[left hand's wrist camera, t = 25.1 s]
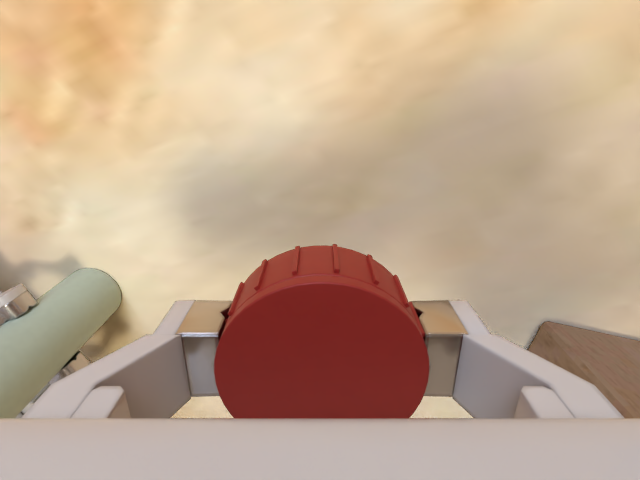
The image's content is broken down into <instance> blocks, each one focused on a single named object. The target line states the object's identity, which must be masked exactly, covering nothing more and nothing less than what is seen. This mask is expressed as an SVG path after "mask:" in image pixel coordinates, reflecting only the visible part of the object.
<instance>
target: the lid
mask: <svg viewBox="0 0 640 480" xmlns="http://www.w3.org/2000/svg"><path fill="white" fill-rule="evenodd" d="M228 315H229V317H228V319H226V320H225V323H226V325H225V328H224V330H223V333H222V335H221V338H220V341H219V343H218V346H217V349H216V354H215V359H214V375H215V382H216V386H217V389H218V392H219V395H220V397H221V399H222V401H223V403H224V405H225V407H226V408H227V410H228V411H229V412H230V414H231V415H232V416H233V417H234V418H409V417H410V416H411V415H412V414H413V413H414V411H415V410H416V408H417V407H418V405H419V404H420V402H421V400H422V398H423V396H424V393H425V390H426V387H427V384H428V378H429V370H430V369H429V356H428V351H427V347H426V344H425V342H424V339H423V337H424V335H425V332H424V330H423V328H422V325H421V323H420V321H419V318H418V316H417V313H416V311H415V309H414V306H413V304H412V302H408V300H407V297H406V295H405V293H404V290H403V288H402V286H401V283H400V281H399V278H398V277H397V275H394V276H393V275H392V274H391V273H390V272H389V271H388V270H387V269H386V268H385V267H384V266H382V265H381V264H379V263H378V262H376V261H375V260H373V258H372V256H371V255H369V254H368V255H367V256H366V255H364V254H361V253H359V252H356V251H353V250H350V249H346V248H342V247H337V245H336V244H333V246H308V247H301V248H300V246H296V247H295V249H293V250H290V251H287V252H284V253H282V254H279V255H277V256H275V257H273V258H272V259H270V260H268V261H267V260H266V259H265V260H264V261H262V264H261V266H260V267H258V268H257V269H256V270H255V271H254V272H253V273H252V274H251V275H250V276H249V277H248V279H247V280H246V281H245V283H242V282H241V283H240V285H239V287H238V289H237V292H236V294H235V297H234V299H233V302H232V304H231V307H230V309H229V312H228Z"/></svg>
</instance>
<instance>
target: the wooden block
mask: <svg viewBox="0 0 640 480" xmlns="http://www.w3.org/2000/svg"><path fill="white" fill-rule="evenodd" d="M528 351H530V352H532V353H534V354H536V355H538V356H539V357H541V358H543V359H545V360H547V361H549V362H551V363H553V364H555V365H557V366H559V367H561V368H563V369H564V370H566V371H568V372H570V373H572V374H574V375H576V376H578V377H580V378H582V379H584V380H586V381H588V382H589V383H591V384H593V385H595V386H596V387H597V388H598V390H599V391H600V392H601V393H602V394H603V395H604V396H605V397H606V398H607V399H608V400H609V402H610V403H611V404H612V405H613V406H614V407H615V408H616V409H617V410H618V411H619V412H620V414H621V415H622V416H623V417H624V418H640V341H636V340H632V339H627V338H622V337H618V336H613V335H609V334H604V333H599V332H595V331H590V330H586V329H581V328H576V327H572V326H567V325H563V324H558V323H553V322H549V321H548V322H544V323H543V324H542V325H541V327H540V329H539V331H538V333H537V335H536V336H535V338H534V340H533V342H532V344H531V346H530V347H529V349H528Z"/></svg>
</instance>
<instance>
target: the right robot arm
mask: <svg viewBox="0 0 640 480" xmlns="http://www.w3.org/2000/svg"><path fill="white" fill-rule="evenodd" d="M37 303H38V302H37V301H36V300H35V298H34V297H33V296H32V295H31V294H30V293H29V291H28V290H27V289H26V288H25V286H24V285H23V284H19V285H17V286H15V287H13V288H11V289H9V290H6V291H4V292H2V291H0V326H1V325H3V324H5V323H6V322H7V321H11V320H14V319H16V318H17V317H19V316H21V315H22V314H24V313H25V312H27V311H28V309H29V308H31V307H33V306H35V305H36V304H37ZM89 364H91V363H90V362H89V360H88V359H87V358H86V357H85V356H84V355H83V354H82V353H81V352H80V351H77V353H76V354H75V355H74V356H73V357H72V358H71V359H70V360H69V361H68V362H67V363H66V364H65V365H64V366H63V367H62V369H61V370H60V371H59V372H58V373H57V374H56V375H55V376H54V377H53V378H52V379H51V380H50V381H49V382H48V383H47V384H46V386H45V387H44V388H43V389H42V390H41V391H40V392H39V393H38V394H37V395H36V396H35V397H34V398H33V399H32V400H31V402H30V403H29V404H28V405H27V406H26V407H25V408H24V409H23V410H22V411H21V412H20V413H19V414H18V415H17V416H16V418H21V417H22V416H23V415H24V414H25V413H26V412H27V411H28V409H29V408H30V407H31V406H32V405H33V404H34V403H35V402H36V401H37V400H38V398H39V397H40V396H41V395H42V394H43V393H44V392H45V391H46V390H47V388H48V387H49V386H50V385H51V384H53V383H55V382H57V381H59V380H61V379H63V378H64V377H66V376H68V375H70V374H72V373H74V372H76V371H78V370H80V369H82V368H84V367H86V366H87V365H89Z"/></svg>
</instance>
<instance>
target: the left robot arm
mask: <svg viewBox="0 0 640 480" xmlns="http://www.w3.org/2000/svg"><path fill="white" fill-rule="evenodd" d="M232 302H233V301H212V300H197V301H196V300H178V301H175V302H174V304H173V305H172V307H171V308H170V310H169V311H168V313H167V314H166V315H165V317H164V318H163V320H162V321H161V323H160V324H159V326H158V327H157V329H156V330H155V332H154V333H153V334H152V335H145V336H143V337H141V338H139V339H137V340H135V341H133V342H131V343H130V344H128V345H126V346H124V347H122V348H120V349H118V350H116V351H114V352H112V353H110V354H108V355H107V356H105V357H103V358H101V359H99V360H97V361H95V362H93V363H91V364H89V365H87V366H86V367H84V368H82V369H80V370H78V371H76V372H74V373H72V374H70V375H68V376H66V377H64V378H63V379H61V380H59V381H57V382H55V383H53V384H51V385H50V386H49V387H48V388H47V390H46V391H45V392H44V393H43V394H42V395H41V396H40V397H39V398H38V400H37V401H36V402H35V403H34V404H33V405H32V406H31V407H30V408H29V409H28V411H27V412H26V413H25V414H24V415H23V416H22V417H21V418H0V480H640V418H624V417H623V416H622V415H621V414H620V412H619V411H618V410H617V409H616V408H615V407H614V406H613V405H612V404H611V403H610V402H609V400H608V399H607V398H606V397H605V396H604V395H603V394H602V393H601V392H600V391H599V390H598V388H597V387H596V386H595V385H593V384H591V383H589V382H588V381H586V380H584V379H582V378H580V377H578V376H576V375H574V374H572V373H570V372H568V371H566V370H564V369H563V368H561V367H559V366H557V365H555V364H553V363H551V362H549V361H547V360H545V359H543V358H541V357H539V356H538V355H536V354H534V353H532V352H530V351H528V350H526V349H524V348H522V347H520V346H518V345H516V344H514V343H512V342H511V341H509V340H507V339H505V338H503V337H501V336H499V335H491V333H490V332H489V330H488V329H487V328H486V326H485V325H484V323H483V322H482V321H481V319H480V318H479V316H478V315H477V313H476V312H475V311H474V309H473V308H472V306H471V305H470V304H469V302H468V301H466V300H443V301H410V302H412V304H413V306H414V309H415V311H416V313H417V316H418V318H419V321H420V323H421V325H422V328H423V330H424V332H425V335H424V337H423V339H424V342H425V344H426V347H427V351H428V356H429V369H430V370H429V378H428V384H427V387H426V390H425V393H424V396H445V397H453V399H454V400H455V401H456V402H457V403H458V404H459V405H461V406H462V407H463V408H464V409H465V410H466V411H467V412H468V413H469V414H470V415H471V416H472V417H473V418H170V417H171V416H173V415H174V414H175V413H176V412H177V411H178V410H179V409H180V408H181V407H182V406H183V405H184V404H185V403H187V402H188V401H189V400H190V399H191V397H198V396H220V395H219V392H218V389H217V386H216V382H215V375H214V359H215V354H216V349H217V346H218V343H219V341H220V338H221V335H222V333H223V330H224V328H225V325H226V323H225V320H226V319H228V317H229V315H228V312H229V309H230V307H231V304H232Z"/></svg>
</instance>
